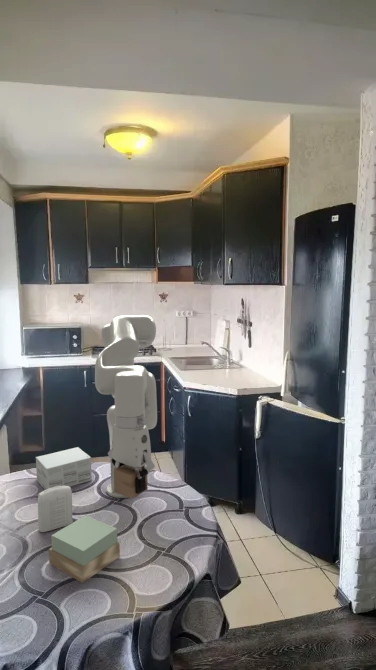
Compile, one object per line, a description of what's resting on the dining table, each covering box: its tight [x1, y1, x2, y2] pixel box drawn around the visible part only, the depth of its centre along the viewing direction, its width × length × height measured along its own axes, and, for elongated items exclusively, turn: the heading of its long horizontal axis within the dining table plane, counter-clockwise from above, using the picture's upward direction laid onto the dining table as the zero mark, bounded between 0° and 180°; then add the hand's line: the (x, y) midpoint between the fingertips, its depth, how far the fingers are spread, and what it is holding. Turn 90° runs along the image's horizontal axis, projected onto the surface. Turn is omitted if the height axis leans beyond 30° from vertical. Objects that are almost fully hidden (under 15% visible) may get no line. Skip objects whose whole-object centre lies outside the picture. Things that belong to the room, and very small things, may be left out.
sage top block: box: [50, 514, 118, 566], centre depth 115 cm, size 12×12×4 cm
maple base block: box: [48, 541, 121, 584], centre depth 116 cm, size 13×13×4 cm
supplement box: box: [35, 446, 93, 490], centre depth 162 cm, size 17×13×9 cm
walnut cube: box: [114, 464, 148, 499], centre depth 111 cm, size 6×6×6 cm
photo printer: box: [37, 486, 74, 533], centre depth 131 cm, size 10×4×12 cm, turn 123°
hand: (130, 487), depth 112 cm, fingers closed on walnut cube, 6 cm apart
